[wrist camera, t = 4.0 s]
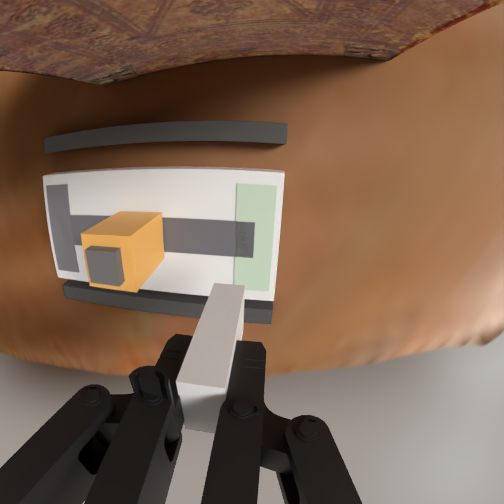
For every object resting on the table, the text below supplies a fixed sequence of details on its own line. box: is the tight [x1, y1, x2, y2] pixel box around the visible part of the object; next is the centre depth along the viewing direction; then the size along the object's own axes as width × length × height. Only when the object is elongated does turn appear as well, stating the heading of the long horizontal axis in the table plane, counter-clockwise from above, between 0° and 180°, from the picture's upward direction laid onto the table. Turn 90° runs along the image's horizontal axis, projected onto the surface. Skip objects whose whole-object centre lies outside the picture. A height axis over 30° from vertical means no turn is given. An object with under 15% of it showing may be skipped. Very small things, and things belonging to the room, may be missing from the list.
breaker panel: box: [43, 166, 285, 301], centre depth 24 cm, size 11×23×2 cm, turn 87°
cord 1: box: [44, 121, 287, 154], centre depth 21 cm, size 2×23×2 cm, turn 87°
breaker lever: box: [81, 211, 165, 293], centre depth 20 cm, size 4×4×7 cm
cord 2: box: [62, 279, 273, 324], centre depth 27 cm, size 2×23×2 cm, turn 87°
